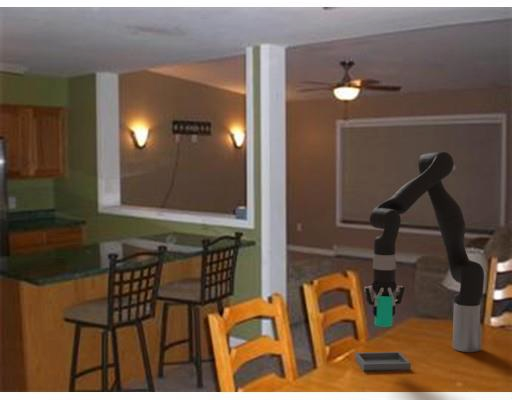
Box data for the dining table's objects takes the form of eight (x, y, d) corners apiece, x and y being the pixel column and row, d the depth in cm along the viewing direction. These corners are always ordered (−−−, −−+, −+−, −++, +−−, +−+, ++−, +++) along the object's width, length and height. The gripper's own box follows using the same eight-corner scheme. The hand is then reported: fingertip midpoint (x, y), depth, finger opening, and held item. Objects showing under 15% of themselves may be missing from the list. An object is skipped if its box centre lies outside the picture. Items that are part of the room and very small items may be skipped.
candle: (391, 322, 216) (391, 287, 215) (393, 326, 210) (394, 291, 209) (373, 321, 217) (374, 287, 216) (375, 326, 211) (375, 291, 210)
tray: (399, 358, 221) (399, 351, 221) (410, 370, 209) (410, 363, 209) (355, 359, 220) (355, 352, 220) (363, 371, 208) (363, 364, 208)
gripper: (401, 264, 216) (400, 312, 218) (360, 265, 215) (360, 313, 216) (408, 268, 209) (407, 318, 210) (366, 269, 208) (365, 319, 209)
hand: (383, 316), depth 213 cm, fingers closed on candle, 4 cm apart
